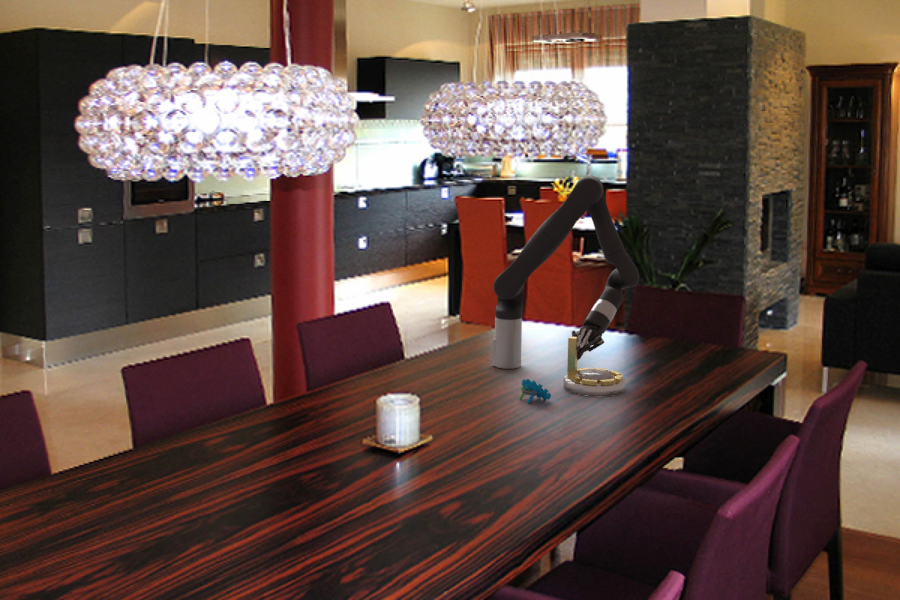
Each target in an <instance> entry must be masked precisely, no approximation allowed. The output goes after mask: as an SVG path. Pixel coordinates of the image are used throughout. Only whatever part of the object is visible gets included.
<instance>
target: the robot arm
mask: <svg viewBox="0 0 900 600" xmlns="http://www.w3.org/2000/svg"><path fill="white" fill-rule="evenodd" d="M586 212H588V214H589V216H590V218H591V221H592V223H593V227H594V230H595V234H596V237H597V240H598V244H599V246H600V249H601V251H602V253H603V257H604V258H605V261H606V262H607V263H608V264H611V265H613V266H615V269H613V270H612V271H611V273H610V274H609V276H608V277H607V280H606V283H605V286H604V290H603V291H602V294H601V295H600V296H599V298H598V299H597V300H596V302H595V303H594V304H593V306H592V308H591V310H590V311H589V313H587V316H586V318H585V319H584V321H583V325H582V326H581V327H580V328H579V330H577V331H576V330H572V331H571V337H578V350H577V362H578V361H579V360H580V359H581V358H582V357H583V355H584V353H585V352H587V351H588V352H592V351H593V350H595V349H596V348H599V347H600V346H601V345H604V344H605V340H604V338H602V337H603V335H604V334H605V332H606V331H607V329H608V327H609V326H610V324H611V322H612V321H613V319H614V317H615V315H616V313H617V311H618V310H619V308H620V306H621V304H622V303H623V301H624V294H623V291H624V290H625V289H628V288H633V287H635V286H638V283H639V282H640V273H639V269H638V268H637V266H636V264H635V263H634V261H633V260H632V258H631V256H629V254H628V253H627V251H626V249H625V246H624V244H623V241H622V240H621V238H620V234H619V233H618V232H619V231H618V230H617V228H616V225H615V224H614V220H613V218H612V216H611V213H610V210H609V208H608V204H607V199H606V196H605V191H604V185H603V183H602V180H601V179H599V178H598V176H594V175H589V174H588V175H586V176H583V177H581V178H580V179H578V181H577V182H575V185H574V186H573V188H572V189H571V191H570V193H569V194H568V196H567V197H566V199H565V200H564V202H563V203H562V204H561V205H560V207H558V208H557V209H556V210H555V211H554V212H553V213H552V214H551V215H550V216H548V217H547V218H546V219H545V220H544V222H542V224H541V225H540V226H539V227H538V228H537V229H536V230H535V232H534V233H533V234H532V236H531V237H530V238H529V239H528V240H527V243H525V245H524V246H523V248H522V250H521V251H520V252H519V254H518V256H517V257H516V258H515V259H514V261H512V263H510V265H509V266H507V267H506V268H505V269H504V271H502V272H501V273H500V274H498V276H497V277H496V278H495V280H494V282H493V291H494V294H495V295H496V296H497V301H496V307H495V311H494V313H495V314H494V338H492V340H491V341H492V346H491V347H492V350H491V352H492V353H491V354H492V355H491V356H492V357H491V366H493V367H495V368H499V369H504V370H505V369H506V370H512V369H513V370H514V369H518V368H521V366H522V336H523V335H522V333H523V331H522V330H523V329H522V328H523V327H522V326H523V309H524V300H525V299H524V298H525V297H524V296H525V283H526V281H528V279H529V277H530V276H531V275H532V274H533V273H534V272H535V271H537V269H538V268H539V267H540V266H542V265H543V264H544V263H545V262H546V261H547V260H548V259H549V258H551V256H552V255H553V254H555V252H556V250H558V249H559V247H560V246H561V245H562V243H563V242H565V240H566V239H567V237H568V236H569V234H570V233H571V232H572V230H573V228H574V226H575V225H576V223H577V222H578V221H579V219H580V218H581V217H582V216H583V215H584V214H585V213H586Z"/></svg>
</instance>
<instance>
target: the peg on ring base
mask: <svg viewBox="0 0 900 600" xmlns="http://www.w3.org/2000/svg"><path fill="white" fill-rule="evenodd" d="M577 350H578V337H572V336H569V337H568V338H567V365H566V367H567V368H566V369H567V370H566V371H567V377H568V379H569V380H571V381H573V382H576V383H578V382H581V384H587V385H597V384H598V380H590V379H582V380H581V378H579V377H577V376H576V375H577V374H579V372H580V371H583V370H591V368H589V367H583V368H578V361H577ZM592 369H594V370H604V371H608V372H610V373H611V376H613V377H615V378H614V379H607V380H600V384H601V385H611V384H616V382H618V383H620V382H621V381H622V379H623V378H624V376H623V374H622V373H621V372H619V371H616V370H609V369H608V368H601V367H600V368H599V367H593V368H592Z"/></svg>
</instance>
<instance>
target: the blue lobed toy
mask: <svg viewBox="0 0 900 600" xmlns="http://www.w3.org/2000/svg"><path fill="white" fill-rule="evenodd" d="M520 389H521V390H522V391H521V395H520V397H519V399H518V400H523V397H524V396H525V395H527V396H529V397H528V399H527V400H526V403H527V404H531V402H532V401H533V400H534V397H536V398H538V399H542V400H544V401H546V400H547V401H550V399H551V398H552V394H551V393H550V392H549V390H548V389H547V388H543V384H541V383H538V384H537V382H536V381H535V380H530V379H529V378H526V379H522V381H521V387H520Z"/></svg>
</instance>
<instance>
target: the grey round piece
mask: <svg viewBox="0 0 900 600" xmlns="http://www.w3.org/2000/svg"><path fill="white" fill-rule="evenodd" d="M590 369H591V368H590ZM576 376H577V377H579V378H581V380H582V379H590V380H598V384H597V385H587V384H581V382H578V383H576V382H573V381H571V380H569V379H568V377H567V375H565V376H564V377H563V387H564V386H565V387H564V389H565V390H566V391H567V390H568V391H570V392H569V393H571V392H572V393H571V394H574V393H576V394H575V395H577V394H580V395H579V396H583V395H588V396H587V397H592V396H607V397H613V396H612V395H615V396H619V395H621V393H622V394H623V393H625V392H626V380H625V378H624V377H623V379H622V381H621V382H620V383H618V382H616V384H611V385H601V384H600V380H607V379H614V378H615V377H613V376H611V373H610V372H609V370H608V371H604V370H594V369H593V368H592V369H591V370H583V371H580V372H579V374H577V375H576ZM568 391H567V392H568ZM618 394H619V395H618Z"/></svg>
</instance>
